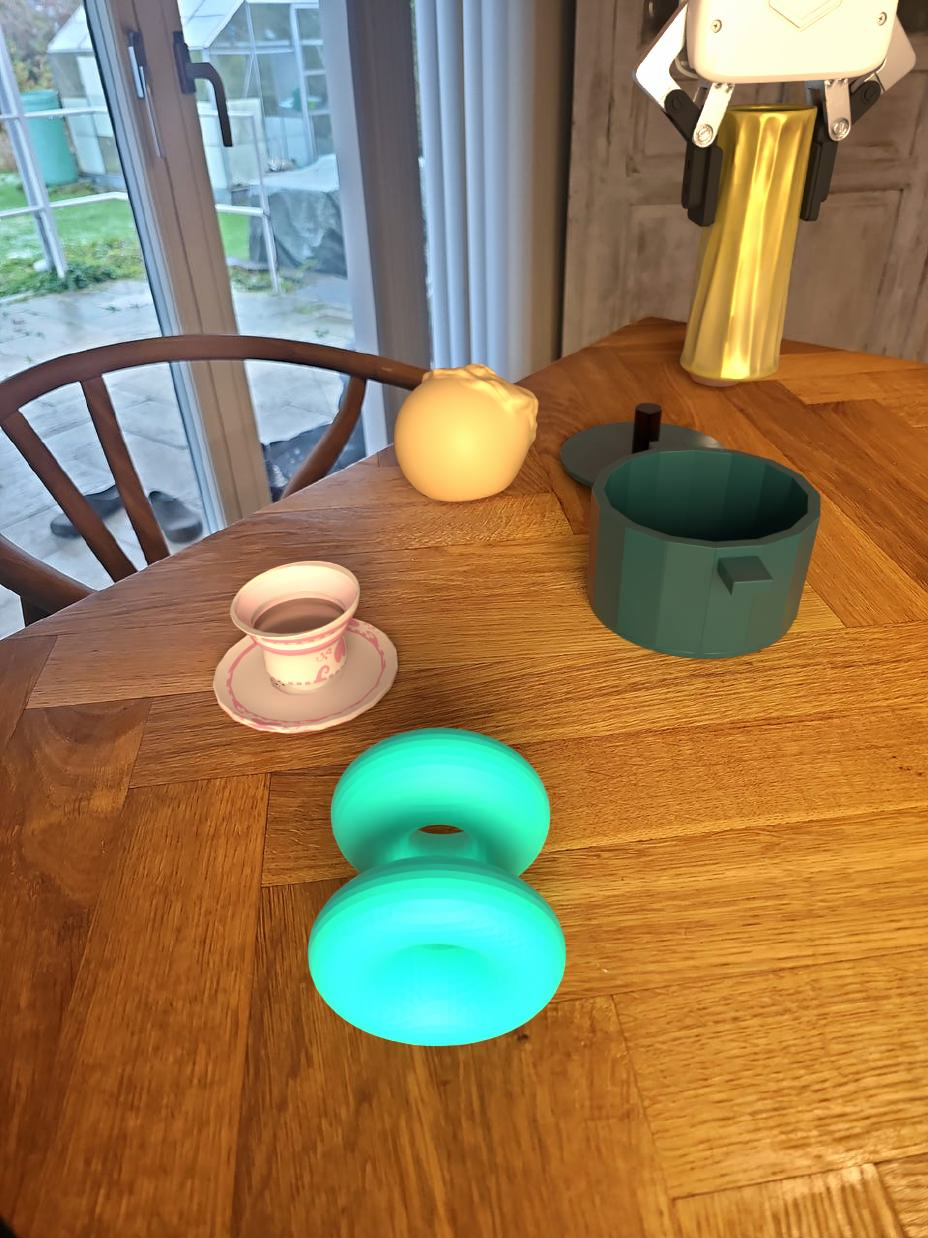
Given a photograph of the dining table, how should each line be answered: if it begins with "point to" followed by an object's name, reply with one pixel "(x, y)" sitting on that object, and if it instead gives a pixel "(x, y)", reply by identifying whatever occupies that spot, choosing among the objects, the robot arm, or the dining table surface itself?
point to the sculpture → (464, 433)
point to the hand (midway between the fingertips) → (750, 216)
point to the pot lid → (623, 442)
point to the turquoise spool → (438, 893)
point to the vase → (749, 243)
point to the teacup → (302, 652)
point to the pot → (699, 549)
